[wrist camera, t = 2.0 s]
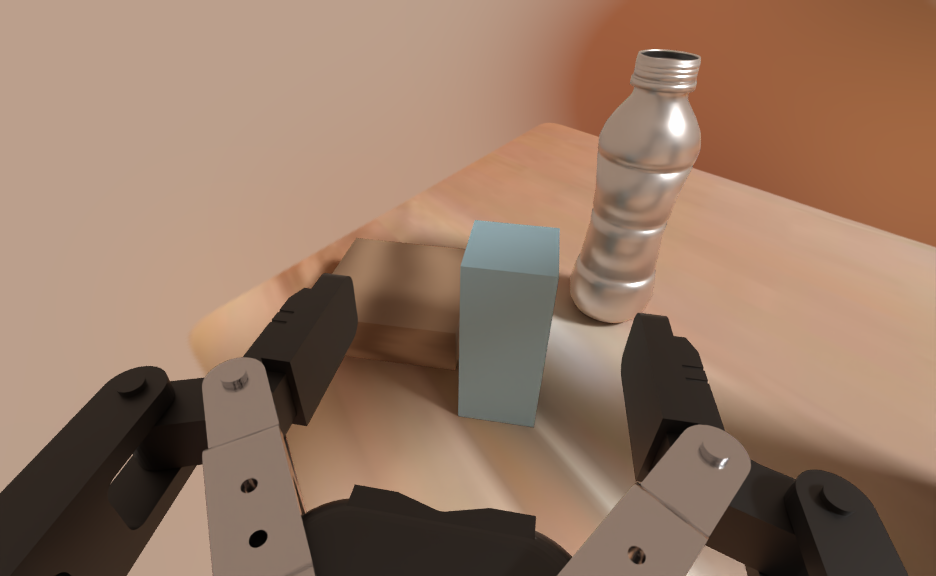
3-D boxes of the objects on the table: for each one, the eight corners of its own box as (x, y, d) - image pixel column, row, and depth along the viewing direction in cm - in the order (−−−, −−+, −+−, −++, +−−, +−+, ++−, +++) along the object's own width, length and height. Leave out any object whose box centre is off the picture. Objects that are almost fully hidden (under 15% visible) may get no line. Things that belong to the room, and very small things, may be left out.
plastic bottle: (570, 280, 44) (614, 42, 32) (645, 294, 42) (721, 49, 30) (560, 323, 39) (609, 60, 27) (645, 341, 37) (736, 70, 25)
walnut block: (475, 286, 44) (477, 250, 41) (455, 373, 35) (455, 333, 32) (361, 274, 45) (356, 237, 42) (313, 355, 36) (304, 315, 34)
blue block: (537, 371, 35) (559, 228, 27) (533, 427, 31) (559, 276, 23) (470, 362, 35) (474, 220, 28) (458, 416, 31) (460, 266, 24)
